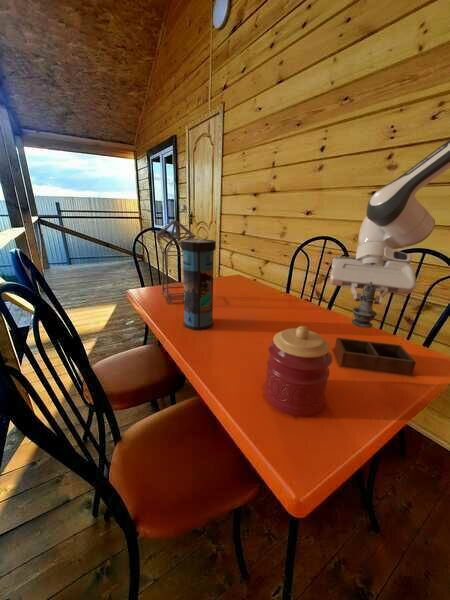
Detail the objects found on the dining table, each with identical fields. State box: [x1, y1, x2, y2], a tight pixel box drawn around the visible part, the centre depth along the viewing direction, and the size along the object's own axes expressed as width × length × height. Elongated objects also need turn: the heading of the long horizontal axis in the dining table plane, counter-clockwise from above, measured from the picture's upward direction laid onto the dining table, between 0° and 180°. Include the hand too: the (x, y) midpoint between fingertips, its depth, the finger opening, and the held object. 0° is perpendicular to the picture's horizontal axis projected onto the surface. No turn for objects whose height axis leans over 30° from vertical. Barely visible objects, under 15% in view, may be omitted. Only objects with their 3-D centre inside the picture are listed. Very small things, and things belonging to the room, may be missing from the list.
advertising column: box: [180, 238, 217, 331], centre depth 87 cm, size 11×11×30 cm
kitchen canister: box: [264, 325, 333, 418], centre depth 55 cm, size 13×13×18 cm
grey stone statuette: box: [350, 281, 378, 329], centre depth 68 cm, size 6×6×12 cm
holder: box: [333, 337, 417, 377], centre depth 71 cm, size 17×9×5 cm, turn 78°
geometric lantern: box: [155, 220, 197, 305], centre depth 110 cm, size 16×16×35 cm
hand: (367, 301), depth 67 cm, fingers closed on grey stone statuette, 3 cm apart
